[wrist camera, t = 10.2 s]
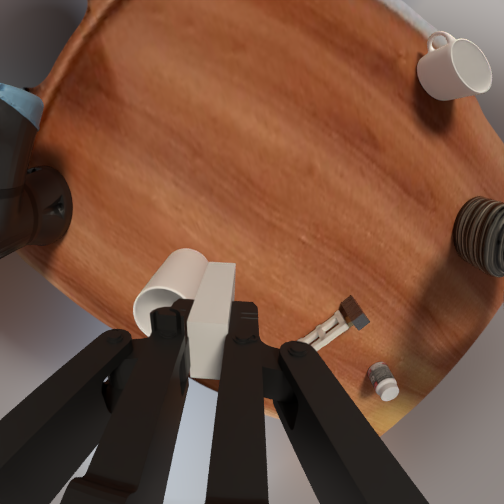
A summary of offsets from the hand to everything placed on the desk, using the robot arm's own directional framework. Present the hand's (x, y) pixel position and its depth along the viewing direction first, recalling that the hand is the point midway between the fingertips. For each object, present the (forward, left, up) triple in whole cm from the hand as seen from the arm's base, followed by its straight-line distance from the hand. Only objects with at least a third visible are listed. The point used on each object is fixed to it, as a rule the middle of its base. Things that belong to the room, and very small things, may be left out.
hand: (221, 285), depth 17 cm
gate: (+27, -7, -32) cm, 42 cm away
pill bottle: (+45, -2, -32) cm, 56 cm away
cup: (+2, -15, -32) cm, 36 cm away
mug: (+3, +43, -32) cm, 54 cm away
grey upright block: (+27, +1, -32) cm, 42 cm away
